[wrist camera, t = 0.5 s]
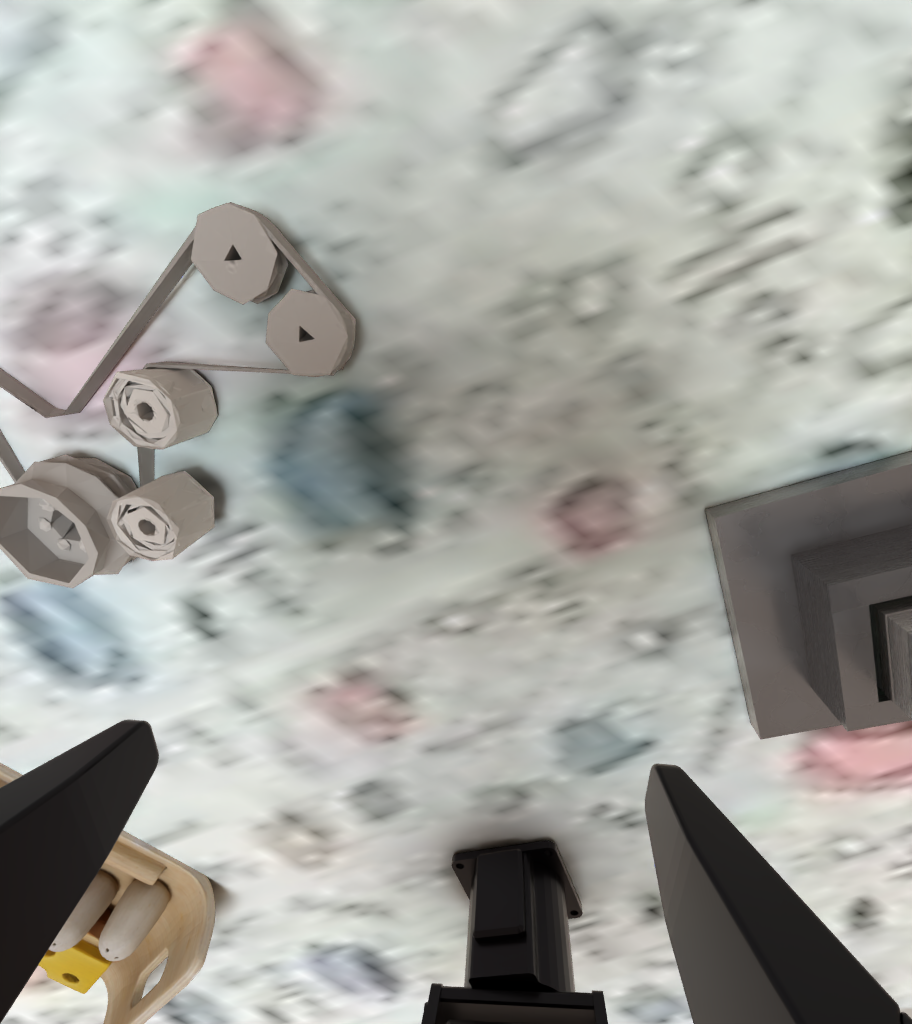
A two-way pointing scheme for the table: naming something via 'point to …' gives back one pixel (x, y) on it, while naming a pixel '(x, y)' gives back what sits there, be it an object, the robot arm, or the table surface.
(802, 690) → the stand base
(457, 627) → the table surface
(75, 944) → the toy food set
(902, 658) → the grey slab
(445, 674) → the table surface
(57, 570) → the pulley system
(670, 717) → the table surface
